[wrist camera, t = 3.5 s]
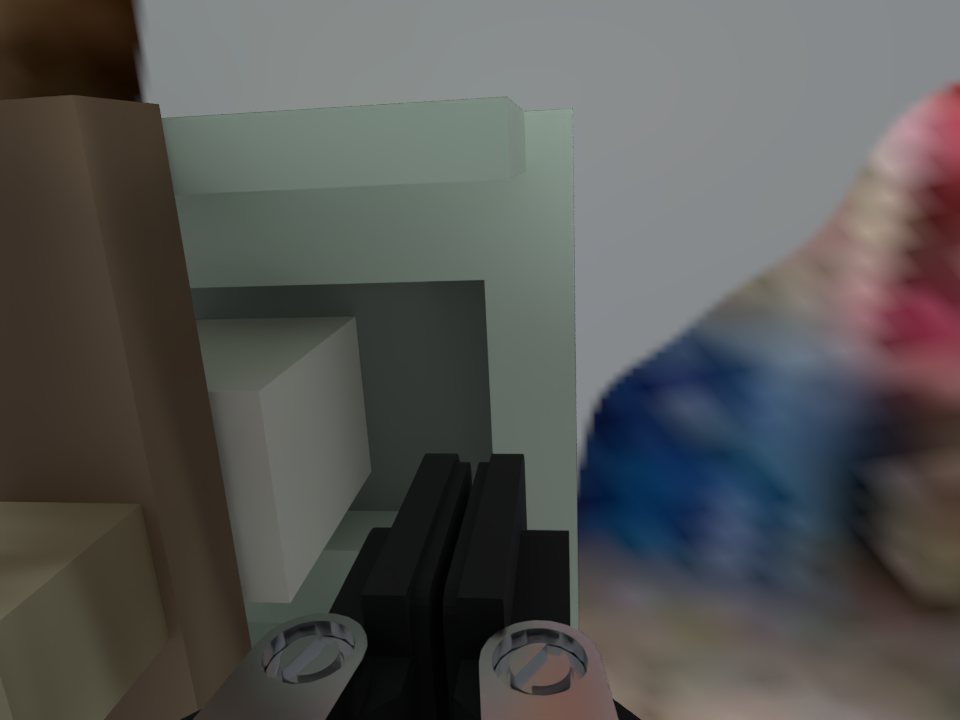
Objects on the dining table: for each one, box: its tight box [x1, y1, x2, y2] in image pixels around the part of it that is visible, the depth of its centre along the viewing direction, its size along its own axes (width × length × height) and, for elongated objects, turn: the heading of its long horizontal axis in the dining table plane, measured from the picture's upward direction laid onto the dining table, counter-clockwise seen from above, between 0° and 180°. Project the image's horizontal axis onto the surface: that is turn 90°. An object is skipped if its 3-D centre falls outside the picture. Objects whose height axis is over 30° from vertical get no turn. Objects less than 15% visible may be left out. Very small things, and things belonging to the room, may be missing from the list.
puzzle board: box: [161, 97, 579, 648], centre depth 17 cm, size 26×14×7 cm, turn 93°
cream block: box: [196, 316, 371, 603], centre depth 16 cm, size 4×4×6 cm
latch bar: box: [0, 95, 252, 720], centre depth 11 cm, size 3×14×5 cm, turn 3°
